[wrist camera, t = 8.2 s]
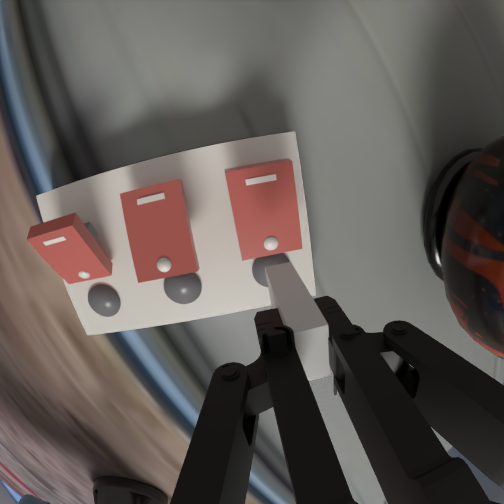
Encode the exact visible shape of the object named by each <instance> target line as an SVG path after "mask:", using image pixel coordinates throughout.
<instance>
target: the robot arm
mask: <svg viewBox="0 0 504 504" xmlns="http://www.w3.org/2000/svg"><path fill="white" fill-rule="evenodd" d="M265 271H266V277H267V283H268V289H269V295H270V301H271V306H272V309H270V310H265V311H260V312H257V314H256V316H255V318H254V320H255V325H256V330H257V335H258V340H259V344H260V349H261V354H260V356H259V358H258V359H257V360H256V361H255V362H253V363H251V364H250V365H247V366H244V365H243V364H240V363H235V362H232V363H226V364H224V365H221V366H220V367H218V368H217V369H216V370H215V372H214V373H213V376H212V379H211V382H210V385H209V388H208V391H207V394H206V397H205V400H204V403H203V406H202V409H201V412H200V415H199V418H198V421H197V424H196V427H195V430H194V433H193V436H192V439H191V442H190V445H189V448H188V451H187V454H186V457H185V460H184V463H183V466H182V469H181V472H180V475H179V478H178V481H177V484H176V487H175V490H174V493H173V496H172V499H171V502H170V504H245V499H246V494H247V488H248V482H249V476H250V470H251V464H252V458H253V452H254V446H255V439H256V433H257V427H258V420H259V413H261V412H263V411H266V410H268V409H270V408H272V407H273V408H274V412H275V416H276V421H277V425H278V429H279V434H280V438H281V442H282V446H283V451H284V455H285V459H286V463H287V468H288V472H289V476H290V480H291V484H292V488H293V493H294V497H295V501H296V504H358V503H357V502H355V501H354V499H353V498H352V495H351V493H350V490H349V487H348V485H347V482H346V479H345V477H344V474H343V471H342V469H341V466H340V463H339V461H338V458H337V455H336V453H335V450H334V447H333V445H332V442H331V439H330V437H329V434H328V431H327V429H326V426H325V423H324V421H323V418H322V416H321V413H320V410H319V408H318V405H317V402H316V400H315V397H314V394H313V392H312V389H311V387H310V384H309V381H311V380H315V379H319V378H322V377H326V376H330V367H331V369H332V371H333V373H334V395H337V390H338V393H339V395H340V397H341V399H342V401H343V403H344V406H345V408H346V410H347V412H348V414H349V417H350V419H351V421H352V423H353V425H354V428H355V430H356V432H357V434H358V437H359V439H360V441H361V443H362V445H363V448H364V450H365V452H366V454H367V457H368V459H369V461H370V463H371V466H372V468H373V470H374V472H375V475H376V477H377V479H378V482H379V484H380V486H381V488H382V491H383V493H384V495H385V498H386V500H387V502H388V504H500V503H496V502H492V501H490V500H489V499H488V497H487V496H486V494H485V492H484V491H483V489H482V487H481V486H480V484H479V482H478V481H477V479H476V478H475V476H474V474H473V473H472V471H471V470H470V468H469V467H468V465H467V464H466V463H465V461H464V460H463V459H461V458H459V457H456V458H452V457H450V456H449V455H448V453H447V452H446V450H445V449H444V447H443V446H442V444H441V442H440V441H439V439H438V438H437V436H436V435H435V433H434V432H433V430H432V429H431V427H432V428H433V429H434V430H435V431H436V432H438V433H439V434H440V435H441V436H442V437H443V438H444V439H445V440H446V441H448V442H449V443H450V444H451V445H452V446H453V447H454V448H456V449H457V450H458V451H459V452H460V453H461V454H462V455H463V456H465V457H466V458H467V459H468V460H469V461H470V462H471V463H472V464H474V465H475V466H476V467H477V468H478V469H479V470H480V471H481V472H483V473H484V474H485V475H486V476H487V477H488V478H489V479H490V480H492V481H493V482H495V483H496V484H497V485H499V486H500V487H501V488H503V489H504V386H503V385H502V384H501V383H499V382H498V381H496V380H495V379H493V378H492V377H490V376H489V375H487V374H486V373H485V372H483V371H482V370H480V369H479V368H477V367H476V366H474V365H473V364H471V363H470V362H468V361H467V360H465V359H464V358H462V357H461V356H459V355H458V354H456V353H455V352H453V351H452V350H450V349H449V348H447V347H446V346H444V345H443V344H441V343H440V342H438V341H437V340H435V339H433V338H432V337H430V336H429V335H427V334H426V333H424V332H423V331H421V330H420V329H418V328H417V327H415V326H413V325H412V324H410V323H408V322H406V321H400V320H399V321H392V322H389V323H388V324H387V325H385V327H384V329H383V332H378V333H366V332H365V331H364V330H363V329H362V328H361V327H359V326H357V325H352V323H351V322H350V320H349V319H348V317H347V316H346V315H345V313H344V312H343V311H342V309H341V308H340V306H339V305H338V303H337V302H336V300H335V299H333V298H331V297H329V296H324V297H320V298H315V299H313V298H312V296H311V294H310V293H309V291H308V289H307V288H306V286H305V284H304V283H303V281H302V279H301V278H300V276H299V274H298V273H297V271H296V269H295V268H294V266H293V264H292V263H291V262H287V263H283V264H278V265H273V266H268V267H265ZM409 364H410V365H411V366H413V367H414V368H413V367H411V366H410V365H409ZM430 426H431V427H430ZM93 496H94V502H95V504H168V499H167V497H166V495H165V494H163V493H162V492H161V491H159V490H157V489H155V488H153V487H151V486H149V485H146V484H143V483H140V482H137V481H133V480H129V479H124V478H119V477H100V478H97V479H96V480H95V482H94V486H93ZM18 504H50V503H49V502H45V501H43V500H41V499H39V498H37V497H35V496H33V495H29V494H27V495H24V496H23V497H22V498H21V499H20V501H19V502H18Z"/></svg>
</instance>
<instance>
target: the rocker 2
mask: <svg viewBox="0 0 504 504" xmlns="http://www.w3.org/2000/svg"><path fill="white" fill-rule="evenodd" d="M120 198H121V203H122V209H123V215H124V220H125V225H126V230H127V235H128V240H129V245H130V250H131V254H132V259H133V263H134V268H135V272H136V276H137V280H138V283H141V282H146V281H152V280H157V279H162V278H167V277H172V276H178V275H183V274H188V273H193V272H198V270H199V269H200V268H199V263H198V259H197V254H196V249H195V244H194V239H193V235H192V230H191V225H190V220H189V214H188V209H187V204H186V199H185V193H184V188H183V182H182V180H180V179H177V180H172V181H168V182H164V183H160V184H156V185H151V186H147V187H144V188H140V189H136V190H132V191H128V192H124V193H121V194H120Z"/></svg>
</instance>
